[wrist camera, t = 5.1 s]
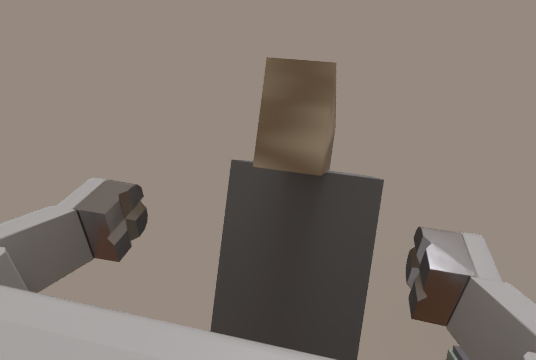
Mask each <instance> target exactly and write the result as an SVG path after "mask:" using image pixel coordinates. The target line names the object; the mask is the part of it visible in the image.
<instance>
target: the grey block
mask: <svg viewBox="0 0 536 360" xmlns="http://www.w3.org/2000/svg"><path fill="white" fill-rule="evenodd" d="M446 360H470V359H469V358H468V356H467V355H466V354H465V352H464V351H463V350H462V348H461V347H459V346H453V350H450V349H448V353H447V359H446Z"/></svg>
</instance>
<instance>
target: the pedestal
mask: <svg viewBox="0 0 536 360" xmlns="http://www.w3.org/2000/svg"><path fill="white" fill-rule="evenodd" d="M253 163H254V161H243V160H232V161H231V169H230V177H229V185H228V193H227V201H226V209H225V217H224V225H223V234H222V242H221V250H220V258H219V266H218V274H217V283H216V291H215V299H214V307H213V316H212V324H211V331H210V332H215V333H219V334H224V335H228V336H233V337H237V338H242V339H246V340H251V341H255V342H260V343H264V344H269V345H273V346H278V347H282V348H287V349H291V350H296V351H300V352H305V353H309V354H314V355H318V356H323V357H327V358H332V359H337V360H357V356H358V349H359V342H360V335H361V329H362V322H363V315H364V309H365V302H366V296H367V289H368V282H369V276H370V269H371V262H372V256H373V249H374V243H375V236H376V228H377V223H378V215H379V209H380V202H381V195H382V189H383V183H384V180H382V179H379V178H375V177H371V176H365V175H357V174H350V173H342V172H334V171H327V172H326V173H324V174H323V175H321V176H318V175H311V174H304V173H296V172H289V171H281V170H274V169H267V168H259V167H253Z"/></svg>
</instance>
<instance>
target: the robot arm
mask: <svg viewBox="0 0 536 360" xmlns="http://www.w3.org/2000/svg"><path fill="white" fill-rule="evenodd" d="M143 197H144V196H143V192H142V189H141V187H140V186H139V185H137V184H131V183H125V182H119V181H113V180H106V179H100V178H91V179H89V180H88V181H86V182H85V183H84V184H83V185H82V186H80V187H79V188H78V189H77V190H75V191H74V192H73V193H72V194H70V195H69V196H68V197H67V198H66V199H64V200H63V201H62V202H61V203H59V204H58V205H57V206H56V207H55V206H49V207H46V208H44V209H41V210H38V211H35V212H32V213H29V214H27V215H24V216H21V217H18V218H15V219H12V220H9V221H6V222H4V223H0V360H337V359H332V358H327V357H323V356H318V355H314V354H309V353H305V352H300V351H296V350H291V349H287V348H282V347H278V346H273V345H269V344H264V343H260V342H255V341H251V340H246V339H242V338H237V337H233V336H228V335H224V334H219V333H215V332H210V331H205V330H201V329H197V328H192V327H187V326H183V325H179V324H174V323H170V322H165V321H161V320H156V319H152V318H147V317H142V316H138V315H134V314H129V313H125V312H120V311H115V310H111V309H107V308H102V307H98V306H93V305H88V304H84V303H79V302H75V301H71V300H66V299H62V298H57V297H52V296H48V295H43V294H39V293H38V292H40V291H41V290H43V289H45V288H46V287H48V286H50V285H51V284H53V283H55V282H56V281H58V280H60V279H61V278H63V277H65V276H66V275H68V274H70V273H71V272H73V271H75V270H76V269H78V268H80V267H81V266H83V265H85V264H86V263H88V262H90V261H91V260H93V258H98V259H104V260H110V261H116V262H120V260H121V259H122V258H123V257H124V255H125V254H126V253H127V252H128V250H129V249H130V248H131V240H133V239H135V238H138V237H139V236H140V235H141V234H142V232H143V231H144V229H145V227H146V223H147V216H148V214H147V209H146V207H145V206H144V205H143V204H142V202H141V200H142V198H143ZM414 242H415V247H414V248H412V249H411V250H410V252H409V255H408V258H407V264H406V282H407V285H408V286H409V287H410V288H411V292H410V295H409V305H410V312H411V318H412V319H415V320H420V321H424V322H429V323H433V324H438V325H442V326H447V329H448V331H449V332H450V334H451V335H452V336H453V338H454V339H455V340H456V341H457V343H458V344H459V346H460V347H461V348H462V350H463V351H464V352H465V354H466V355H467V356H468V358H469V359H470V360H536V305H535V304H534V303H533V302H531V301H530V300H529V299H528V298H527V297H526V296H524V295H523V294H522V293H521V292H520V291H518V290H517V289H516V288H515V287H513V286H512V285H511V284H510V283H506V282H502V279H501V277H500V275H499V273H498V270H497V268H496V266H495V263H494V261H493V259H492V257H491V254H490V252H489V249H488V247H487V245H486V243H485V240H484V238H483V237H482V236H481V235H480V234H471V233H464V232H459V233H457V232H451V231H445V230H438V229H431V228H424V227H418V229H417V230H416V233H415V236H414Z"/></svg>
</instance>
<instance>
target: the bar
mask: <svg viewBox="0 0 536 360" xmlns="http://www.w3.org/2000/svg"><path fill="white" fill-rule="evenodd" d="M335 120H336V63H333V62H320V61H307V60H294V59H281V58H268V57H267V60H266V68H265V76H264V84H263V92H262V100H261V107H260V115H259V123H258V131H257V139H256V147H255V155H254V163H253V167H259V168H267V169H274V170H281V171H289V172H296V173H304V174H311V175H318V176H321V175H323V174H324V173H326V172H327V171H329V169H330V162H331V154H332V147H333V141H334V134H335V124H336V122H335Z"/></svg>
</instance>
